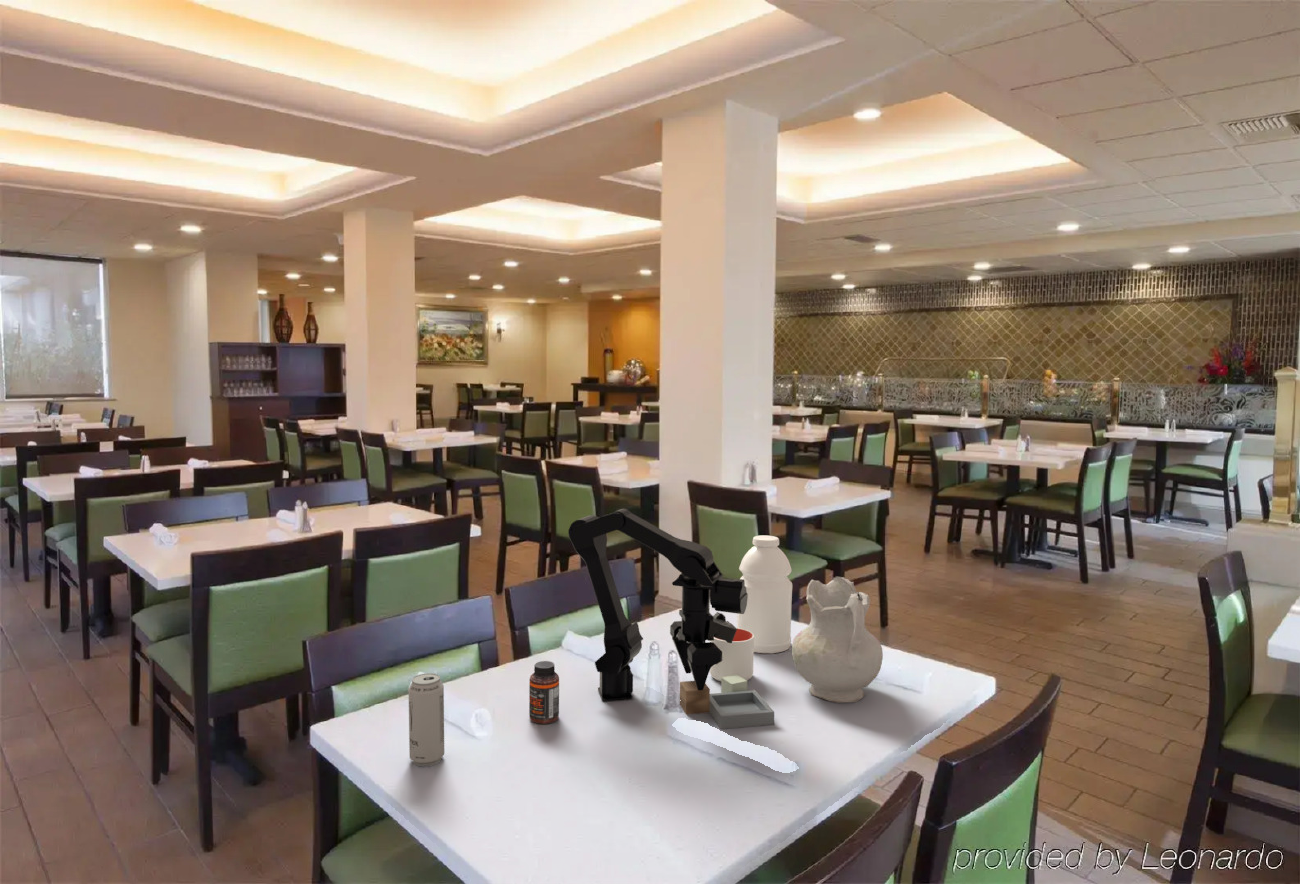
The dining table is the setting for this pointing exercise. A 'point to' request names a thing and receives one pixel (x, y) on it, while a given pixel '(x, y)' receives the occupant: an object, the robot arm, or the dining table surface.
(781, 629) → the bottle
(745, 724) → the tray
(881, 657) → the ceramic pitcher
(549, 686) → the supplement bottle
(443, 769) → the dining table surface
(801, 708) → the dining table surface
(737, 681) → the sage cube
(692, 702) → the walnut cube
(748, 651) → the cup
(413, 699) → the energy drink can
